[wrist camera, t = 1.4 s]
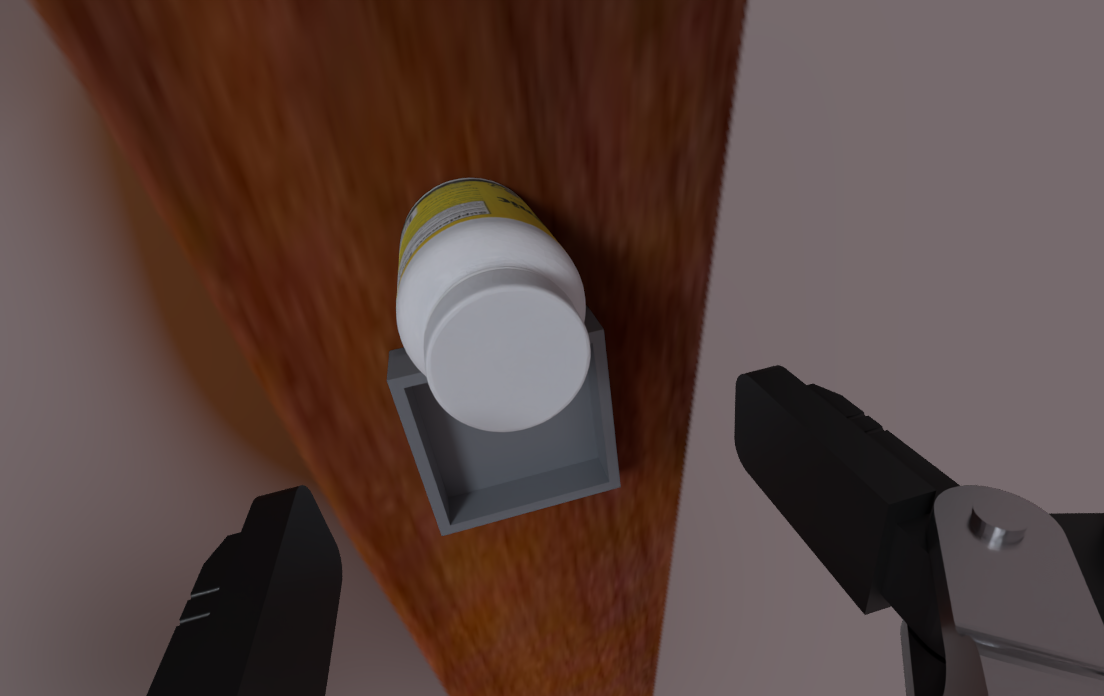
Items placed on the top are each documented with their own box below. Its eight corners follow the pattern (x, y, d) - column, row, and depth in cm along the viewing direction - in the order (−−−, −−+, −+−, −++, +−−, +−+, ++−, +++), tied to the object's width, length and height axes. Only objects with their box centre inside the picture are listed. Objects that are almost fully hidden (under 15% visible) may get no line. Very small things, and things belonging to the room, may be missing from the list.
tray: (389, 350, 22) (386, 380, 20) (587, 305, 23) (603, 329, 21) (439, 499, 27) (441, 536, 25) (605, 455, 28) (620, 486, 26)
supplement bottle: (560, 270, 22) (647, 397, 14) (445, 329, 23) (463, 491, 14) (502, 147, 20) (568, 212, 11) (371, 215, 20) (339, 331, 11)
